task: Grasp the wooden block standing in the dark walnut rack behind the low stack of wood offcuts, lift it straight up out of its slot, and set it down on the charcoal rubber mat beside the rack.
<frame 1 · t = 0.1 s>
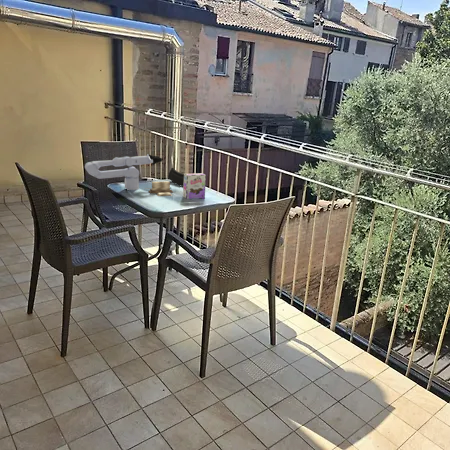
hand: (160, 158, 290), 22 cm above the table, tool horizontal, fingers open, 7 cm apart
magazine: (179, 185, 314), on the table
offcut top: (164, 195, 276), point 1 cm above the table, touching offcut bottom
mat: (156, 189, 292), on the table
wooden block: (160, 193, 284), resting in rack
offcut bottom: (164, 197, 277), on the table, touching offcut top
candy box: (193, 198, 276), on the table
rack: (160, 193, 284), on the table
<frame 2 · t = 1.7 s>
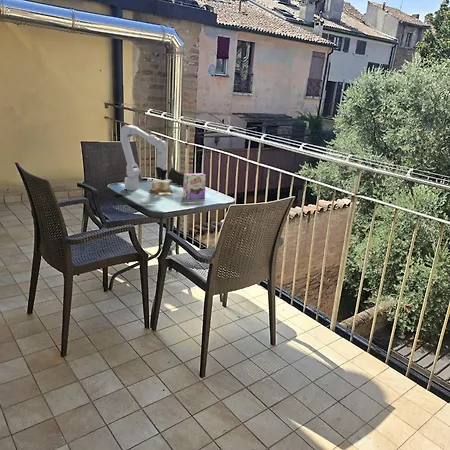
hand: (161, 178, 281), 10 cm above the table, tool pointing down, fingers open, 7 cm apart
nothing on the table moved.
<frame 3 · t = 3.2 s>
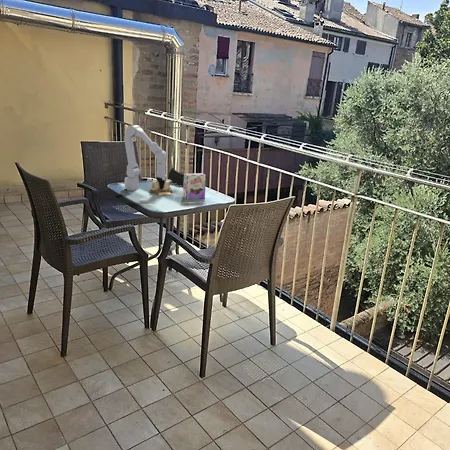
hand: (160, 188, 283), 3 cm above the table, tool pointing down, fingers closed on wooden block, 2 cm apart
wooden block: (160, 193, 284), resting in rack, touching gripper
everything else where it was.
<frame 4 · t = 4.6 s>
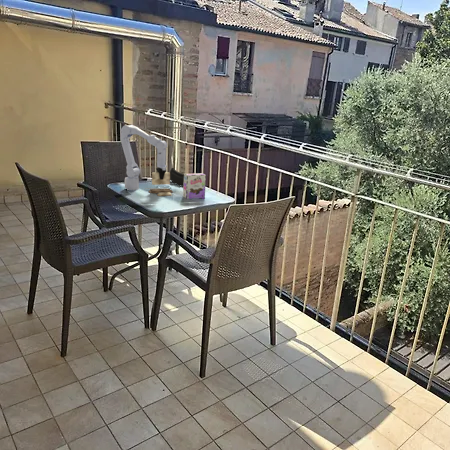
hand: (161, 179, 281), 10 cm above the table, tool pointing down, fingers closed on wooden block
wooden block: (160, 184, 282), point 6 cm above the table, touching gripper
everything else where it was.
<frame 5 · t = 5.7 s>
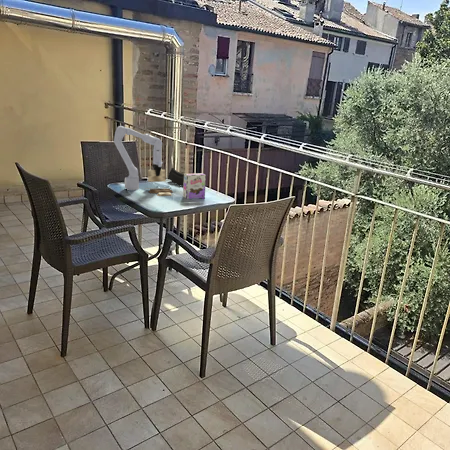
hand: (157, 175, 289), 10 cm above the table, tool pointing down, fingers closed on wooden block
wooden block: (156, 181, 290), point 6 cm above the table, touching gripper
everything else where it was.
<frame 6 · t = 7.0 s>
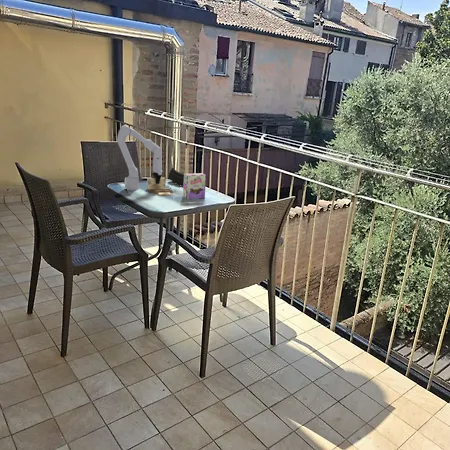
hand: (157, 183, 291), 5 cm above the table, tool pointing down, fingers closed
wooden block: (156, 189, 292), point 1 cm above the table, touching mat
everything else where it was.
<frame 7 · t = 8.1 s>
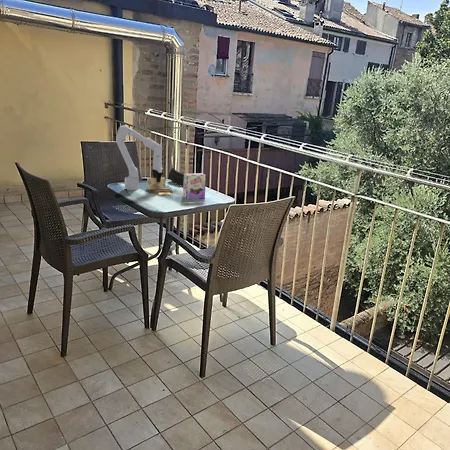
hand: (157, 180, 290), 7 cm above the table, tool pointing down, fingers open, 7 cm apart
nothing on the table moved.
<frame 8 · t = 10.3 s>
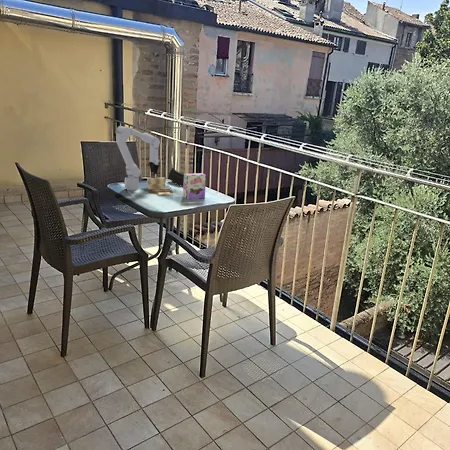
hand: (153, 173, 297), 10 cm above the table, tool pointing down, fingers open, 7 cm apart
at the end: wooden block inside the target area (0.2 cm from its centre), point 0.6 cm above the table; the gripper is holding nothing; offcut top moved 0.7 cm from its start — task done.
